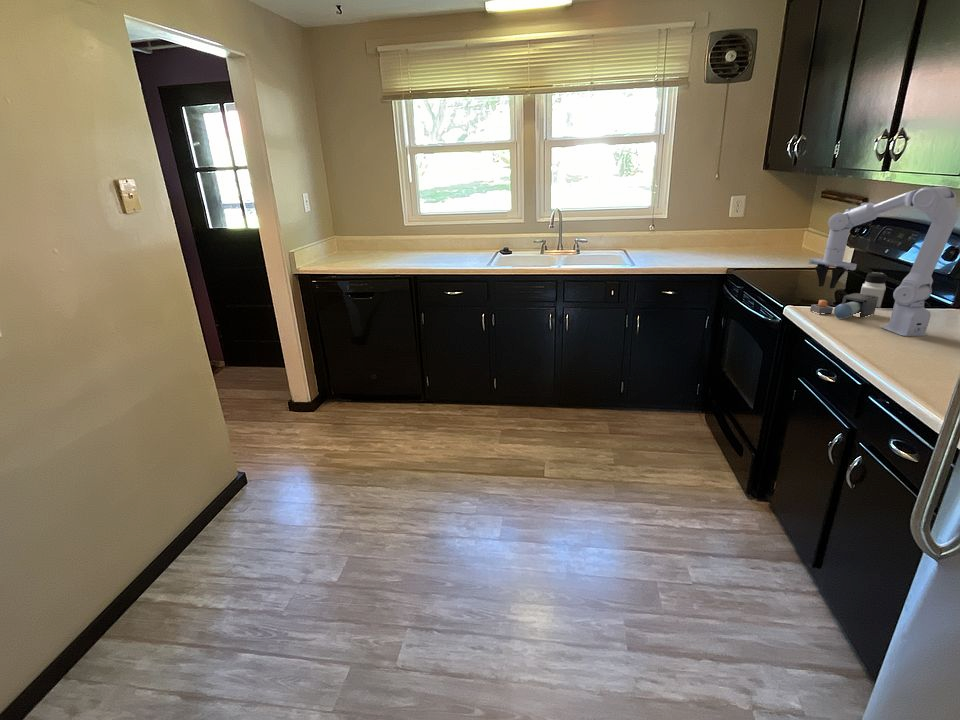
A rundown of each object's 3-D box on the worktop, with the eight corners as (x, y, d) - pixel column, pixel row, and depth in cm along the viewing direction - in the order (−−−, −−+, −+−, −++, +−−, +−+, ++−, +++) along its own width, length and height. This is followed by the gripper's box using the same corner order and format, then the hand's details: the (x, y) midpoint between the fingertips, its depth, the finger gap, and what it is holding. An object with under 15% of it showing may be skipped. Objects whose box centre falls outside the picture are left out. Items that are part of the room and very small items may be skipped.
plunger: (827, 309, 184) (829, 301, 183) (820, 309, 184) (822, 301, 182) (822, 307, 186) (824, 299, 185) (815, 307, 186) (817, 299, 185)
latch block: (831, 314, 183) (833, 307, 182) (818, 314, 183) (820, 308, 182) (822, 310, 188) (824, 304, 187) (809, 310, 188) (811, 304, 187)
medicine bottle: (880, 308, 190) (889, 276, 185) (857, 305, 194) (865, 273, 190) (881, 303, 195) (889, 272, 191) (858, 301, 199) (866, 270, 195)
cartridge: (853, 309, 186) (856, 296, 185) (868, 312, 182) (872, 299, 181) (832, 316, 179) (835, 302, 177) (848, 319, 175) (851, 305, 173)
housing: (850, 309, 188) (855, 292, 186) (873, 314, 182) (878, 296, 180) (839, 313, 184) (843, 296, 182) (862, 318, 178) (867, 300, 176)
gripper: (864, 250, 173) (854, 289, 178) (819, 245, 185) (811, 282, 190) (854, 252, 170) (844, 292, 175) (809, 246, 181) (801, 284, 186)
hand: (826, 287), depth 182 cm, fingers open, 3 cm apart
